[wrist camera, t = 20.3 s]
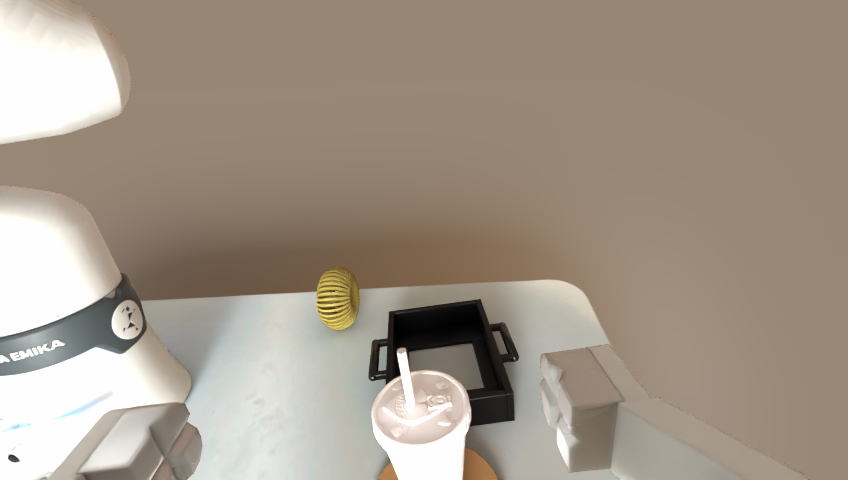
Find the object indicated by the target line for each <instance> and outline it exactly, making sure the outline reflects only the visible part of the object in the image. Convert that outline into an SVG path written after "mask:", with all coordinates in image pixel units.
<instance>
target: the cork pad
mask: <svg viewBox="0 0 848 480" xmlns="http://www.w3.org/2000/svg"><path fill="white" fill-rule="evenodd" d="M378 480H399V478H398V476H397V474H396V471H395V469H394V467H393V464H392V462H390V463H389V464H388V465H387V467H386V468H385V469H384V470H383V472H382V473H381V475H380V476H379V478H378ZM463 480H498V478H497V475H496V474H495V472H494V471H493V469H492V468H491V466H490V465H489V464H488V463H487V462H486V461H485V460H484V459H483V458H482V457H481V456H480V455H479V454H477V453H476V452H474V451H473V450H471V449H469V448H467V447H465V452H464V470H463Z"/></svg>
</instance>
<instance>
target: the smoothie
mask: <svg viewBox="0 0 848 480" xmlns="http://www.w3.org/2000/svg"><path fill="white" fill-rule="evenodd" d="M397 355H398V361H399V366H400V371H401V376H399V377H397V378H395V379H393V380H392V381H390V382H389V383H388V384H387V385H385V386H384V387H383V388H382V389H381V391H380V392H379V393H378V395H377V396H376V398H375V400H374V403H373V406H372V411H371V418H372V423H373V431H374V434H375V436H376V439H377V441H378V442H379V443H380V444H381V445H382V447H383V448H384V449H385V450H387V453H388V455H389V457H390V460H391V462H392V464H393V467H394V469H395V471H396V474H397V476H398V478H399V480H463V470H464V452H465V438H466V432H467V431H468V428H469V425H470V422H471V406H470V404H469V397H468V394H467V392H466V390H465V388H464V387H463V385H462V384H461V383H460V382H459V381H458V380H457V379H455V378H454V377H452V376H450V375H448V374H446V373H443V372H439V371H434V370H418V371H413V372H410V370H409V364H408V358H407V353H406V349H405V348H399V349H398V350H397Z"/></svg>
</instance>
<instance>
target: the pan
mask: <svg viewBox="0 0 848 480" xmlns="http://www.w3.org/2000/svg"><path fill="white" fill-rule="evenodd" d="M494 331H500V334H501V336H502V339H503V342H504V344H505V347H506V350H507V352H508V354H501V355H500V353H499V351H498V348H497V345H496V342H495V339H494V336H493V333H492V332H494ZM465 343H473V347H474V351H475V354H476V358H477V362H478V366H479V370H480V373H481V377H482V381H483V385H484V388H480V389H472V390H466V392H467V394H468V397H469V404H470V406H471V422H470V425H469V426H475V425H482V424H490V423H497V422H504V421H512V420H515V418H514V394H513V391H512V388H511V385H510V382H509V379H508V376H507V373H506V371H505V368H504V365H503V363H506V362H516V361H518V359H519V355H518V353H517V350H516V348H515V346H514V343H513V341H512V338H511V336H510V333H509V331H508V329H507V326H506V324H505V323H503V322H501V323H498V324H491V325H489V322H488V319H487V316H486V313H485V310H484V308H483V305H482V302H481V299H478V300H471V301H463V302H456V303H449V304H441V305H434V306H427V307H419V308H412V309H404V310H397V311H390V312H389V323H388V339H380V340H373V342H372V347H371V356H370V366H369V376H368V377H369V379H370V380H371V381H375V380H381V379H386V385H387V384H388V383H389V382H390V381H392V380H393V379H395V378H397V377H399V376H401V371H400V366H399V361H398V355H397V350H398V349H399V348H405V349H406V353H407V358H408V364H409V351H414V350H421V349H428V348H436V347H443V346H451V345H458V344H465ZM383 346H387V367H386V370H384V371H378V365H379V351H380V347H383Z"/></svg>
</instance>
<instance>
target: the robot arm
mask: <svg viewBox="0 0 848 480" xmlns="http://www.w3.org/2000/svg"><path fill="white" fill-rule="evenodd" d="M129 93H130V73H129V68H128V64H127V61H126V58H125V56H124V54H123V52H122V50H121V48H120V46H119V44H118V43H117V41H116V40H115V39H114V37H113V36H112V34H111V33H110V32H109V31H108V30H107V29H106V28H105V26H104V25H103V24H102V23H101V22H99V20H97V19H96V18H95V17H94V16H93V15H92V14H90V13H89V12H88V11H87V10H85V9H84V8H82V7H81V6H79V5H78V4H76V3H75V2H73V1H71V0H0V144H6V143H12V142H18V141H24V140H30V139H37V138H42V137H49V136H55V135H61V134H67V133H70V132H73V131H76V130H79V129H82V128H85V127H88V126H91V125H94V124H97V123H99V122H102V121H105V120H107V119H110V118H113V117H116V116H118V115H120V113H121V112H122V110H123V109H124V107H125V105H126V103H127V100H128V97H129ZM540 368H541V371H542V373H543V375H544V377H545V378H544V379H543V380H542V381H541V383H540V393H541V400H542V406H543V410H544V413H545V416H546V419H547V421H548V424H549V426H550V427H551V428H553V429H554V430H555V431H557V445H558V448H559V450H560V452H561V455H562V457H563V459H564V462H565V464H566V466H567V469H568V471H569V473H570V472H580V471H590V470H599V469H609V468H611V470H610V471H611V472H613V473H614V474H615V475H616V476H617V477H618V478H620V479H621V480H809V479H808V478H807V477H806V476H805V475H804V474H803V473H801V472H800V471H797V470H796V469H794V468H792V467H790V466H788V465H786V464H784V463H782V462H781V461H779V460H777V459H775V458H773V457H771V456H769V455H767V454H765V453H763V452H762V451H760V450H758V449H756V448H754V447H752V446H750V445H748V444H747V443H745V442H743V441H741V440H739V439H737V438H735V437H733V436H731V435H730V434H728V433H726V432H724V431H722V430H720V429H718V428H716V427H714V426H712V425H711V424H709V423H707V422H705V421H703V420H701V419H699V418H697V417H695V416H693V415H691V414H690V413H688V412H686V411H684V410H682V409H680V408H679V407H677V406H675V405H673V404H671V403H669V402H667V401H665V400H663V399H661V398H652V397H651V396H650V395H649V393H648V392H647V391H646V389H645V388H644V387H643V386H642V384H640V382H639V380H638V379H637V378H636V377H635V375H634V374H633V373H632V372H631V370H630V369H629V368H628V366H627V365H626V364H625V362H624V361H623V360H622V359H621V357H620V356H619V355H618V353H617V352H616V351H615V350H614V348H613V347H612V346H610V345H608V344H606V345H599V346H592V347H586V348H581V349H574V350H566V351H559V352H552V353H545V354H542V355H541V359H540ZM190 388H191V376H190V374H189V373H188V371H187V370H186V369H184V368H183V367H182V366H181V365H180V364H179V363H178V362H177V361H176V359H175V358H174V357H173V356H172V354H171V353H170V351H169V350H168V349H166V347H165V346H164V345H163V343H162V342H161V341H160V339H159V338H158V336H157V335H156V334H155V332H154V331H153V329H152V328H151V326H150V325H149V324H148V322H147V321H146V320H145V316H144V312H143V309H142V305H141V302H140V300H139V298H138V296H137V294H136V292H135V290H134V288H133V285H132V284H131V283H130V281H129V279H128V277H127V276H126V275H125V274H123V273H121V272H119V270H118V268H117V266H116V264H115V262H114V260H113V258H112V256H111V254H110V252H109V250H108V248H107V246H106V244H105V242H104V240H103V238H102V236H101V234H100V232H99V229H98V228H97V226H96V224H95V222H94V219H93V217H92V215H91V214H90V213H89V211H88V210H87V209H86V208H85V207H84V206H82V205H81V204H80V203H78V202H77V201H75V200H73V199H71V198H69V197H67V196H64V195H61V194H57V193H53V192H48V191H42V190H36V189H30V188H22V187H13V186H3V185H0V480H187V479H188V478H189V477H190V476H191V475H192V474H194V472H195V469H196V467H197V465H198V463H199V461H200V456H201V451H202V441H201V436H200V433H199V431H198V429H197V428H196V427H194V426H193V425H191V424H190V423H188V422H187V420H188V418H189V415H190V413H189V411H188V409H187V407H186V406H185V404H184V401H185V400H186V398H187V396H188V394H189V391H190Z"/></svg>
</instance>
